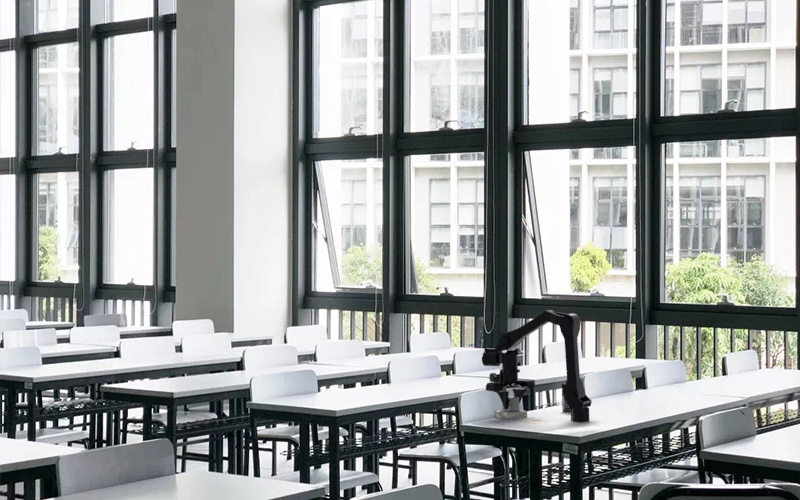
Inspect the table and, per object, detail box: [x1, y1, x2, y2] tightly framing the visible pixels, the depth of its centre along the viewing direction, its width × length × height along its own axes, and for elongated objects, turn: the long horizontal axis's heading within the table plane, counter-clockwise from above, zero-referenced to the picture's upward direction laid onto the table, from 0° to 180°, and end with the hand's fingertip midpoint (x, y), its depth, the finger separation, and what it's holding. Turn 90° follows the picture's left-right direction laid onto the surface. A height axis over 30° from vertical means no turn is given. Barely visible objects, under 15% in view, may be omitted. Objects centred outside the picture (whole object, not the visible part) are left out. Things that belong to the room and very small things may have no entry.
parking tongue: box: [520, 419, 547, 425], centre depth 381 cm, size 7×7×2 cm
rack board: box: [492, 409, 528, 420], centre depth 393 cm, size 18×12×4 cm, turn 30°
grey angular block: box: [502, 395, 520, 412], centre depth 395 cm, size 4×4×5 cm
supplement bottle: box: [561, 389, 571, 413], centre depth 416 cm, size 6×6×11 cm
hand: (510, 408), depth 394 cm, fingers closed on grey angular block, 4 cm apart
